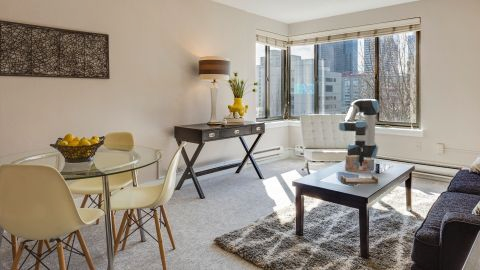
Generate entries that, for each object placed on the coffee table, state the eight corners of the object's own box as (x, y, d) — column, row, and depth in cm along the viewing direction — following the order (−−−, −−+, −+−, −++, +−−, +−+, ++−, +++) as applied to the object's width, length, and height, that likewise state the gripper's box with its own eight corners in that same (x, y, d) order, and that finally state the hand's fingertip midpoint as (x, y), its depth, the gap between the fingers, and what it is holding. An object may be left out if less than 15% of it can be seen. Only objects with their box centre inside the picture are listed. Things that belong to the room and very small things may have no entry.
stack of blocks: (369, 169, 275) (370, 154, 273) (374, 171, 269) (374, 155, 267) (345, 170, 271) (345, 155, 270) (349, 172, 265) (349, 156, 264)
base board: (340, 179, 278) (340, 174, 278) (373, 179, 276) (373, 175, 275) (343, 183, 266) (344, 178, 266) (378, 183, 264) (378, 178, 263)
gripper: (352, 138, 277) (351, 166, 280) (358, 141, 257) (357, 171, 260) (361, 138, 277) (360, 166, 279) (368, 142, 257) (367, 171, 259)
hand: (359, 168), depth 270 cm, fingers closed on stack of blocks, 7 cm apart
